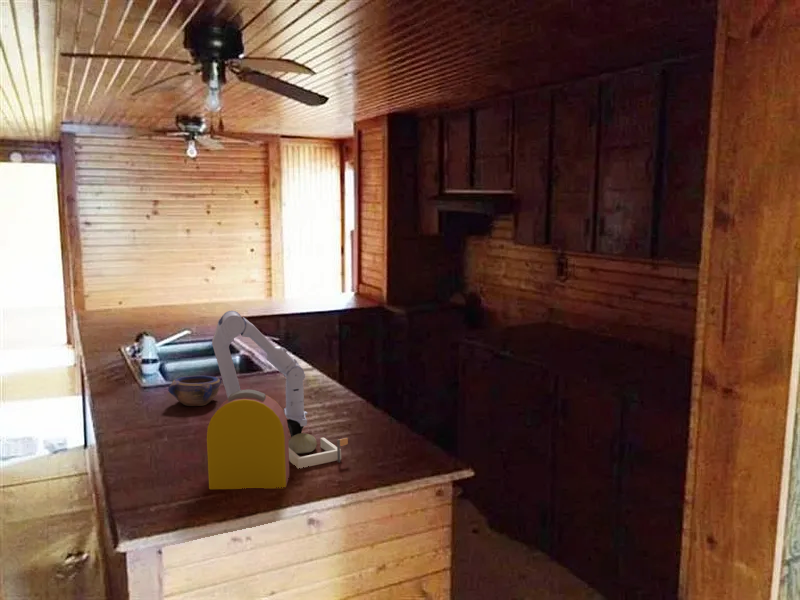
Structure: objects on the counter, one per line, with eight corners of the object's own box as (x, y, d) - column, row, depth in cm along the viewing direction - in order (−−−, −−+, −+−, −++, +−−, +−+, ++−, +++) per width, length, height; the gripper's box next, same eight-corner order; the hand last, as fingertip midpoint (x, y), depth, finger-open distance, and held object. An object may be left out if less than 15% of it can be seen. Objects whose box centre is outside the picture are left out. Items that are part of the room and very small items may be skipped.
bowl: (227, 396, 270) (226, 372, 268) (210, 410, 252) (209, 384, 251) (184, 395, 272) (183, 371, 270) (164, 409, 254) (163, 383, 252)
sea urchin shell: (289, 451, 206) (287, 428, 210) (288, 462, 212) (285, 439, 217) (319, 448, 208) (316, 425, 213) (317, 459, 214) (314, 436, 219)
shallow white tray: (300, 471, 196) (300, 448, 195) (282, 454, 209) (281, 433, 208) (348, 460, 204) (348, 438, 203) (328, 445, 216) (327, 424, 215)
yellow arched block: (289, 474, 194) (287, 385, 190) (285, 488, 185) (282, 395, 181) (216, 475, 193) (212, 386, 189) (208, 489, 184) (203, 396, 180)
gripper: (315, 404, 211) (316, 445, 213) (297, 393, 224) (298, 432, 226) (294, 408, 208) (295, 450, 210) (277, 396, 220) (278, 436, 222)
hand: (295, 441), depth 217 cm, fingers closed
